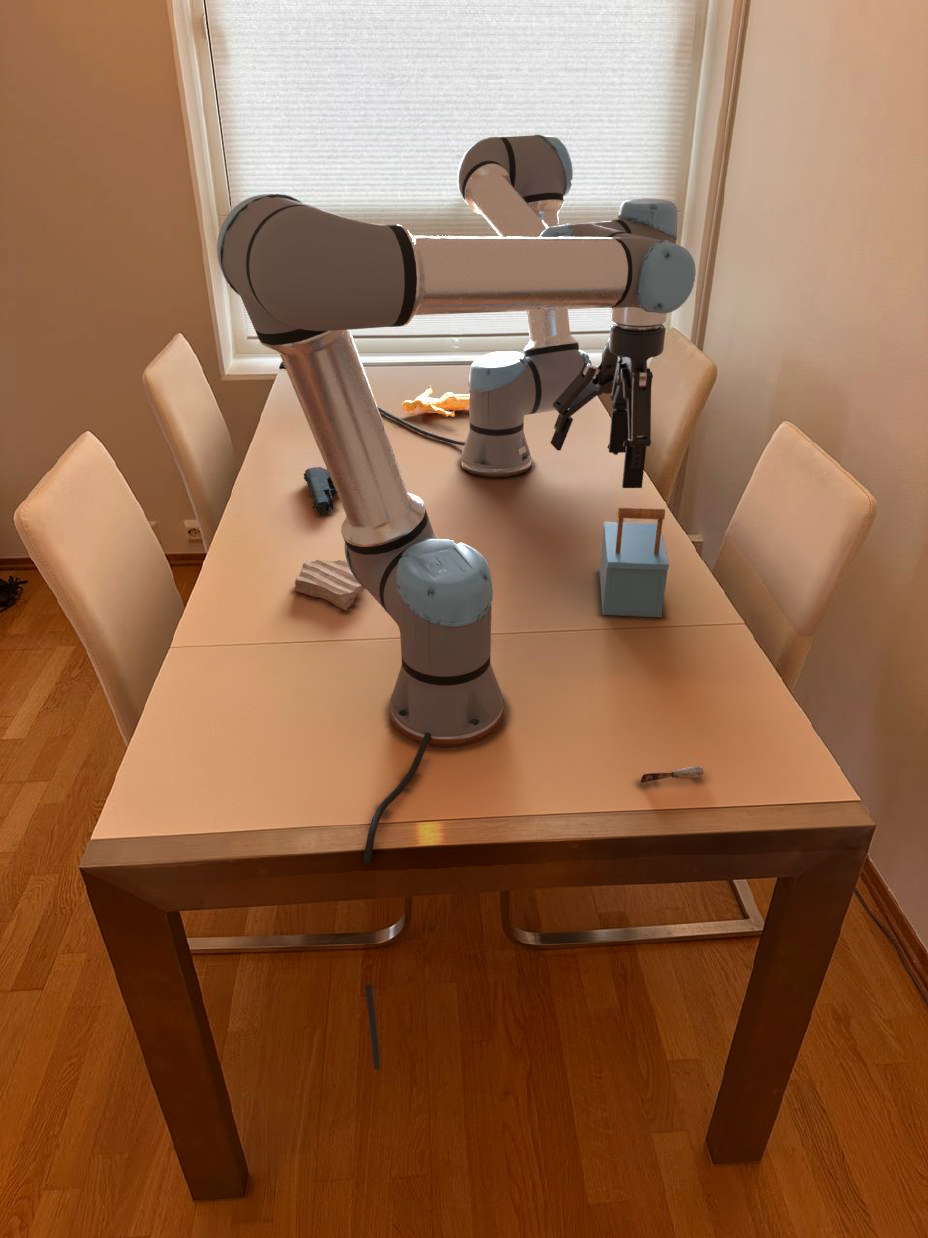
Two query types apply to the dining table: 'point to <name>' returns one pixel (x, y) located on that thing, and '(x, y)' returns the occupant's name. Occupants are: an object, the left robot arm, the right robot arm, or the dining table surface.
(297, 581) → the stone
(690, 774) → the putty knife
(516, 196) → the right robot arm
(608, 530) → the lid
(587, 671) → the dining table surface
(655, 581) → the chest
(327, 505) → the handgun
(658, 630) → the dining table surface
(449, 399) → the human figure
